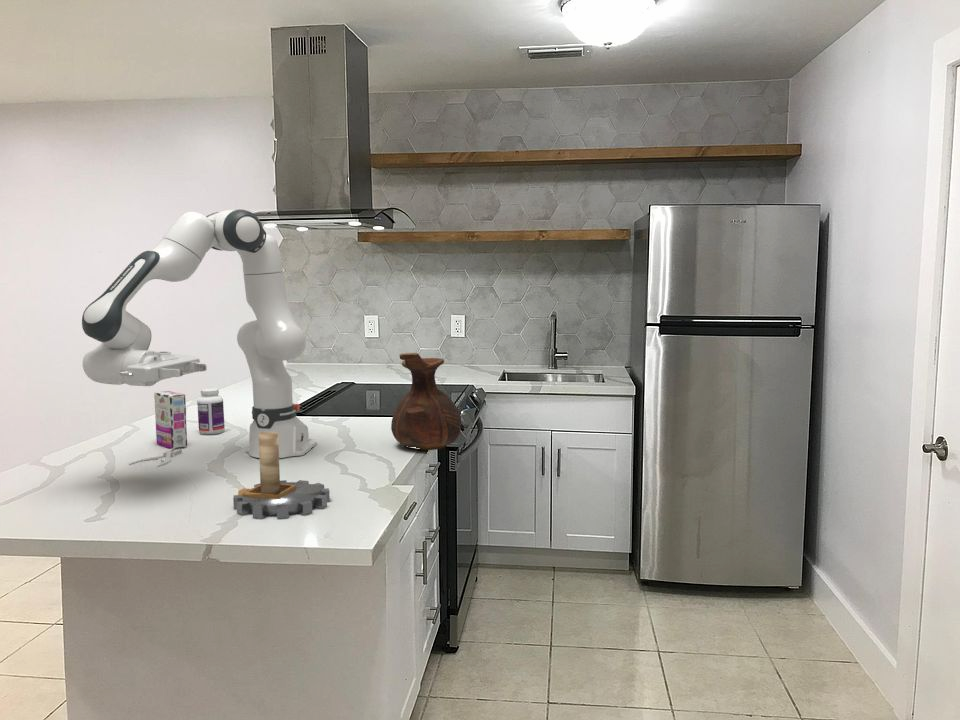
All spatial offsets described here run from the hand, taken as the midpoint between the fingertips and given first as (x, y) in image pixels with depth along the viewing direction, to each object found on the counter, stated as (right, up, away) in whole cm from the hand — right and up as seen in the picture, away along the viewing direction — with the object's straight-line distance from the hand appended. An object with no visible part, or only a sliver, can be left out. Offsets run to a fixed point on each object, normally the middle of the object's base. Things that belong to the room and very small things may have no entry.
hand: (193, 370), depth 187 cm
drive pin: (+20, -28, -6) cm, 35 cm away
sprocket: (+23, -31, -6) cm, 39 cm away
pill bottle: (-19, -22, +68) cm, 73 cm away
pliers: (-22, -26, +34) cm, 48 cm away
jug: (+53, -24, +49) cm, 76 cm away
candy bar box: (-25, -24, +50) cm, 60 cm away
